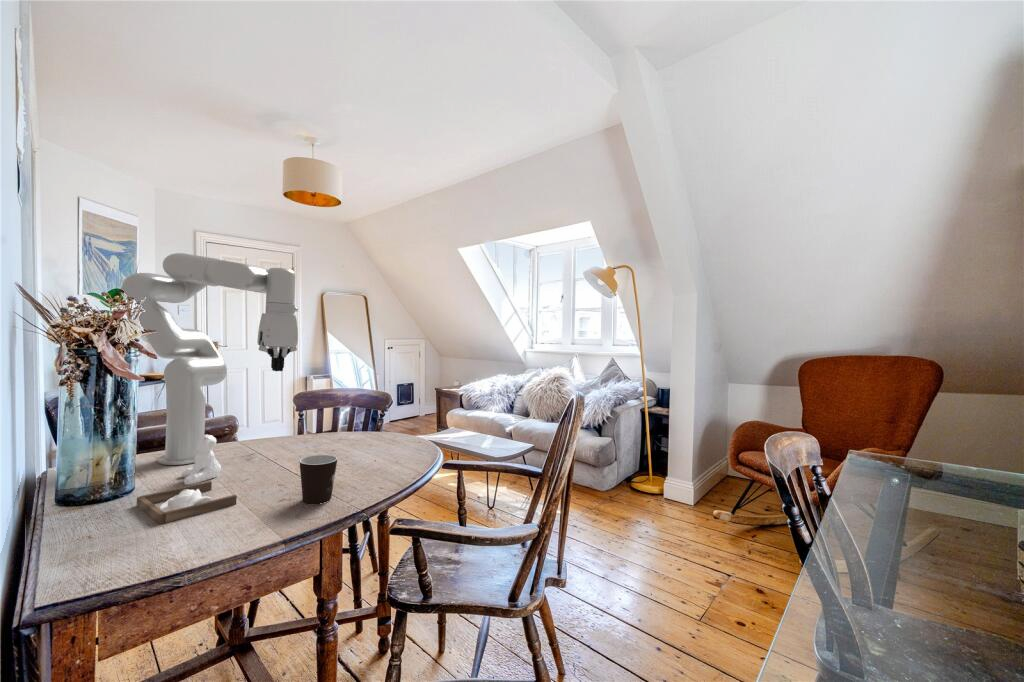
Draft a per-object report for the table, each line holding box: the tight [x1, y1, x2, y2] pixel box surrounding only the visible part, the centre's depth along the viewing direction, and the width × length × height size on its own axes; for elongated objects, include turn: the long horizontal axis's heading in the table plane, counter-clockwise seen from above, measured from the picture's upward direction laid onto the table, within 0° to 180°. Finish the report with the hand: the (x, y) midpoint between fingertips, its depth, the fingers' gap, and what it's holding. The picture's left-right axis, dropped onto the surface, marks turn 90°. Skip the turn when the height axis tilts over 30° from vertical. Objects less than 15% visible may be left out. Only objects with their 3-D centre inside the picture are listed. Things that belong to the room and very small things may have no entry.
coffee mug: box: [298, 454, 339, 505], centre depth 107 cm, size 12×9×10 cm
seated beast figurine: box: [180, 433, 222, 486], centre depth 117 cm, size 10×9×12 cm
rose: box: [158, 489, 213, 512], centre depth 98 cm, size 10×4×10 cm
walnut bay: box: [136, 481, 238, 525], centre depth 99 cm, size 15×14×2 cm
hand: (277, 370), depth 129 cm, fingers closed
